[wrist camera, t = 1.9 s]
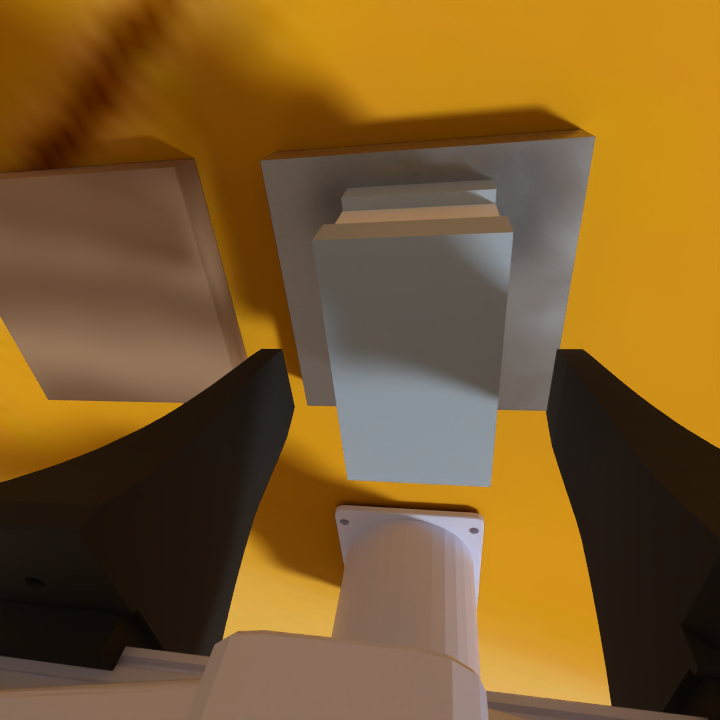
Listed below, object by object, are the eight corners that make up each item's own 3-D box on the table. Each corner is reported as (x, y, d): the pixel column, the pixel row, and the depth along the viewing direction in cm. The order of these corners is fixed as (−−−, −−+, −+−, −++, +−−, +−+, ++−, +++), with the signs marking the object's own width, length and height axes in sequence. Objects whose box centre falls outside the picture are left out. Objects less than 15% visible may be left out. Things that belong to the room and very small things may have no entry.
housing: (479, 389, 18) (490, 486, 14) (367, 388, 19) (347, 479, 15) (492, 179, 14) (513, 232, 10) (347, 187, 15) (311, 240, 11)
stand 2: (542, 388, 20) (549, 410, 19) (315, 385, 21) (307, 405, 20) (582, 129, 14) (595, 136, 13) (274, 152, 16) (260, 160, 15)
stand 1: (253, 384, 22) (242, 403, 21) (68, 381, 24) (48, 399, 22) (194, 158, 17) (174, 167, 15) (-40, 176, 18) (-75, 185, 17)
